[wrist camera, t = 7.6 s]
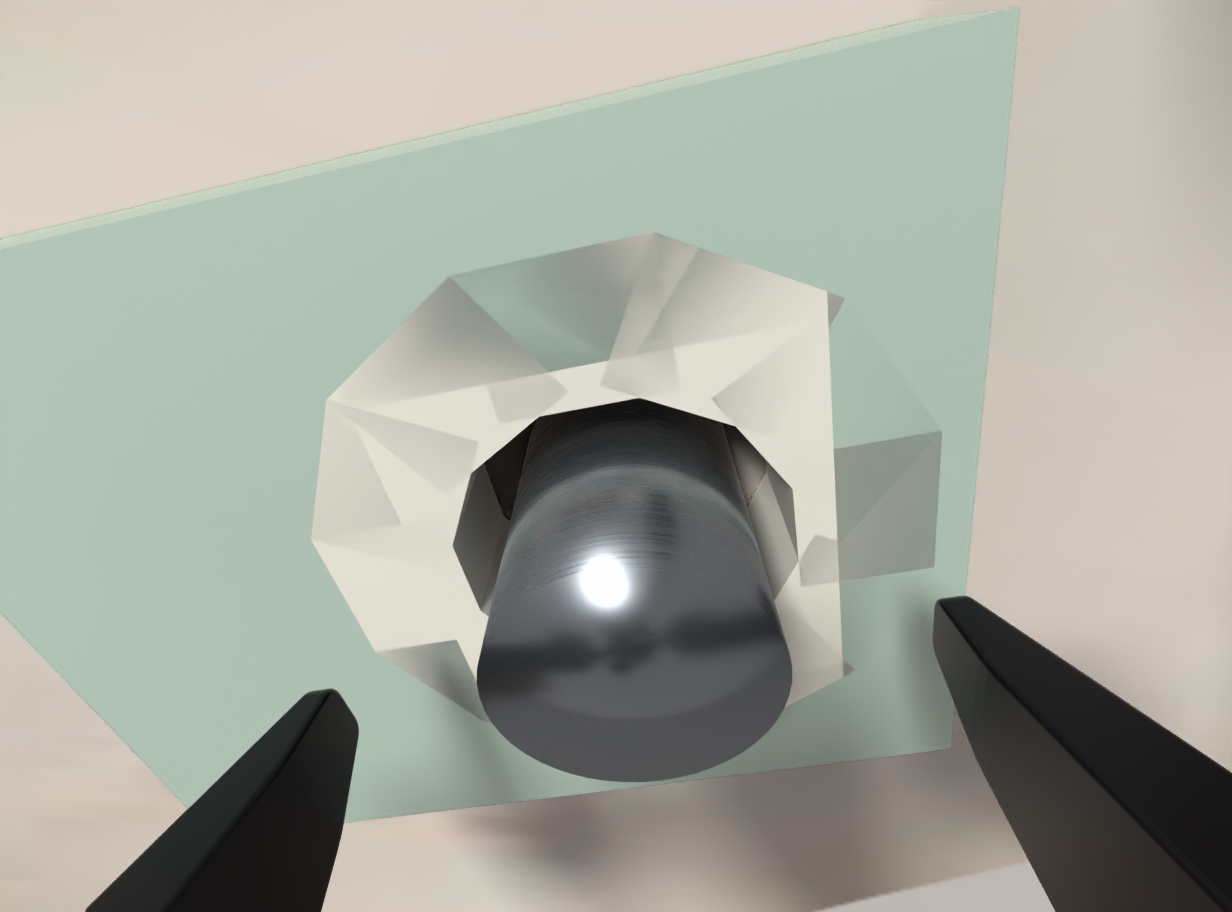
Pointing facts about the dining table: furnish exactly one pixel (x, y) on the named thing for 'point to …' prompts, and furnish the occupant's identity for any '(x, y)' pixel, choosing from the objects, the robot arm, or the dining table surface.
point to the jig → (510, 404)
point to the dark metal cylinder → (632, 601)
